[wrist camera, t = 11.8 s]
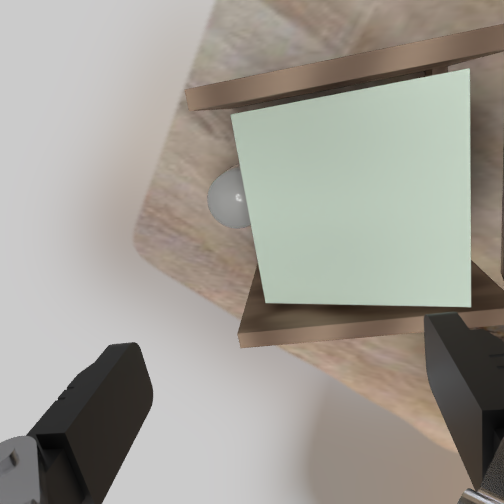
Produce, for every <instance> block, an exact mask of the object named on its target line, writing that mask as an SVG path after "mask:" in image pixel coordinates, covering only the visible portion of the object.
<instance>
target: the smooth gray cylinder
mask: <svg viewBox="0 0 504 504" xmlns="http://www.w3.org/2000/svg"><path fill="white" fill-rule="evenodd" d="M208 206H209V209H210V212H211V213H212V215H213V216H214V218H215V219H216V220H217V221H218V222H220V223H221V224H223V225H225V226H227V227H230V228H244V227H247V226H249V225H251V222H250V217H249V211H248V206H247V201H246V195H245V190H244V184H243V179H242V174H241V168H240V164H236V165H234V166H232V167H231V168H230V169H228V170H227V171H226V172H224V173H223V174H222V175H220V176H219V177H218V178H217V179H216V180H215V181H214V182H213V183H212V185H211V186H210V189H209V192H208Z"/></svg>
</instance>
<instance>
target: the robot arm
mask: <svg viewBox="0 0 504 504" xmlns="http://www.w3.org/2000/svg"><path fill="white" fill-rule="evenodd" d="M424 337H425V355H426V369H427V375H428V380H429V384H430V387H431V390H432V393H433V395H434V397H435V399H436V402H437V404H438V406H439V409H440V411H441V413H442V415H443V418H444V420H445V422H446V425H447V427H448V429H449V431H450V434H451V436H452V438H453V441H454V443H455V445H456V447H457V450H458V452H459V454H460V456H461V459H462V461H463V463H464V466H465V468H466V470H467V473H468V475H469V477H470V479H471V482H472V484H473V486H474V489H475V491H474V490H472V489H467V490H465V491H464V493H463V494H462V496H461V498H460V499H459V501H458V503H457V504H504V342H503V341H502V340H501V339H500V338H498V337H496V336H494V335H493V334H491V333H489V332H487V331H486V330H484V329H476V330H470V329H469V328H468V327H467V325H466V324H465V322H464V321H463V320H462V318H461V317H460V315H459V314H458V313H457V312H445V313H435V314H426V315H425V316H424ZM152 402H153V388H152V384H151V381H150V377H149V374H148V371H147V368H146V365H145V362H144V358H143V355H142V352H141V349H140V347H139V345H138V344H137V343H135V342H132V343H122V344H112V345H109V346H108V347H107V348H106V349H105V350H104V352H103V353H102V354H101V355H100V356H99V358H98V359H97V360H96V361H95V363H93V364H91V365H90V366H89V367H87V368H86V369H85V370H83V371H82V372H81V373H79V374H78V375H77V376H76V377H75V378H74V380H73V381H72V382H71V383H70V384H69V385H68V387H67V390H64V391H63V393H62V394H61V395H60V396H59V397H58V400H57V401H55V402H54V403H53V404H52V406H51V407H50V408H49V409H48V410H47V411H46V413H45V414H44V415H43V416H42V417H41V418H40V420H39V421H38V422H37V423H36V424H35V426H34V427H33V428H32V429H31V430H30V431H29V433H28V434H27V435H26V436H18V437H14V438H11V439H8V440H6V441H3V442H1V443H0V504H102V502H103V500H104V498H105V497H106V495H107V492H108V491H109V489H110V487H111V485H112V483H113V481H114V479H115V477H116V475H117V473H118V471H119V469H120V467H121V465H122V463H123V461H124V459H125V457H126V456H127V454H128V452H129V450H130V448H131V445H132V444H133V441H134V440H135V438H136V436H137V434H138V432H139V430H140V428H141V426H142V424H143V422H144V420H145V418H146V417H147V415H148V413H149V411H150V409H151V406H152Z"/></svg>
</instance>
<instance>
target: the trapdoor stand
mask: <svg viewBox="0 0 504 504" xmlns="http://www.w3.org/2000/svg"><path fill="white" fill-rule="evenodd" d="M503 51H504V24H501V25H496V26H491V27H486V28H481V29H476V30H471V31H467V32H462V33H457V34H452V35H447V36H442V37H438V38H433V39H428V40H423V41H418V42H413V43H408V44H404V45H399V46H394V47H389V48H384V49H379V50H375V51H370V52H365V53H360V54H355V55H350V56H345V57H341V58H336V59H331V60H326V61H321V62H316V63H312V64H307V65H302V66H297V67H292V68H287V69H282V70H278V71H273V72H268V73H263V74H258V75H253V76H249V77H244V78H239V79H234V80H229V81H224V82H219V83H215V84H210V85H205V86H200V87H195V88H190V89H186V90H185V95H186V99H187V104H188V108H189V111H200V110H215V109H231V108H236V107H242V106H247V105H252V104H257V103H262V102H267V101H273V100H278V99H283V98H288V97H293V96H298V95H303V94H309V93H314V92H319V91H324V90H329V89H334V88H340V87H345V86H350V85H355V84H360V83H365V82H371V81H376V80H381V79H386V78H391V77H396V76H401V75H407V74H412V73H417V72H422V71H425V77H427V76H432V75H438V74H443V73H448V66H450V65H453V64H457V63H461V62H465V61H469V60H472V59H476V58H480V57H484V56H488V55H491V54H495V53H499V52H503ZM445 312H457V313H458V314H459V315H460V317H461V318H462V320H463V321H464V322H465V324H466V325H467V327H468V328H475V327H486V326H497V325H504V290H503V289H502V288H500V287H499V286H498V285H497V284H496V283H495V282H494V281H493V280H492V279H491V278H490V277H489V276H488V275H487V274H485V273H484V272H483V271H482V270H481V269H480V268H479V267H478V266H477V265H476V264H475V263H474V262H473V261H472V260H471V307H439V306H389V305H338V304H287V303H266V302H265V297H264V292H263V286H262V281H261V276H260V270H259V265H258V264H257V268H256V271H255V275H254V278H253V282H252V285H251V289H250V292H249V296H248V299H247V302H246V306H245V309H244V313H243V316H242V320H241V323H240V327H239V331H238V338H239V343H240V347H241V348H249V347H260V346H270V345H283V344H294V343H305V342H317V341H328V340H339V339H350V338H362V337H373V336H384V335H396V334H407V333H418V332H424V316H425V315H426V314H435V313H445Z"/></svg>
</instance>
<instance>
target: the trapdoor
mask: <svg viewBox="0 0 504 504" xmlns="http://www.w3.org/2000/svg"><path fill="white" fill-rule="evenodd" d="M231 120H232V125H233V131H234V136H235V142H236V147H237V152H238V158H239V163H240V168H241V174H242V179H243V184H244V190H245V195H246V201H247V206H248V211H249V217H250V222H251V227H252V233H253V238H254V243H255V249H256V254H257V260H258V265H259V270H260V276H261V281H262V286H263V292H264V297H265V302H266V303H287V304H338V305H389V306H439V307H471V184H470V68H469V69H463V70H458V71H453V72H448V73H443V74H438V75H432V76H427V77H422V78H417V79H412V80H407V81H401V82H396V83H391V84H386V85H381V86H376V87H370V88H365V89H360V90H355V91H350V92H345V93H339V94H334V95H329V96H324V97H319V98H314V99H308V100H303V101H298V102H293V103H288V104H283V105H277V106H272V107H267V108H262V109H257V110H252V111H246V112H241V113H236V114H231ZM501 274H502V277H503V280H504V149H503V197H502V246H501Z"/></svg>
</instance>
